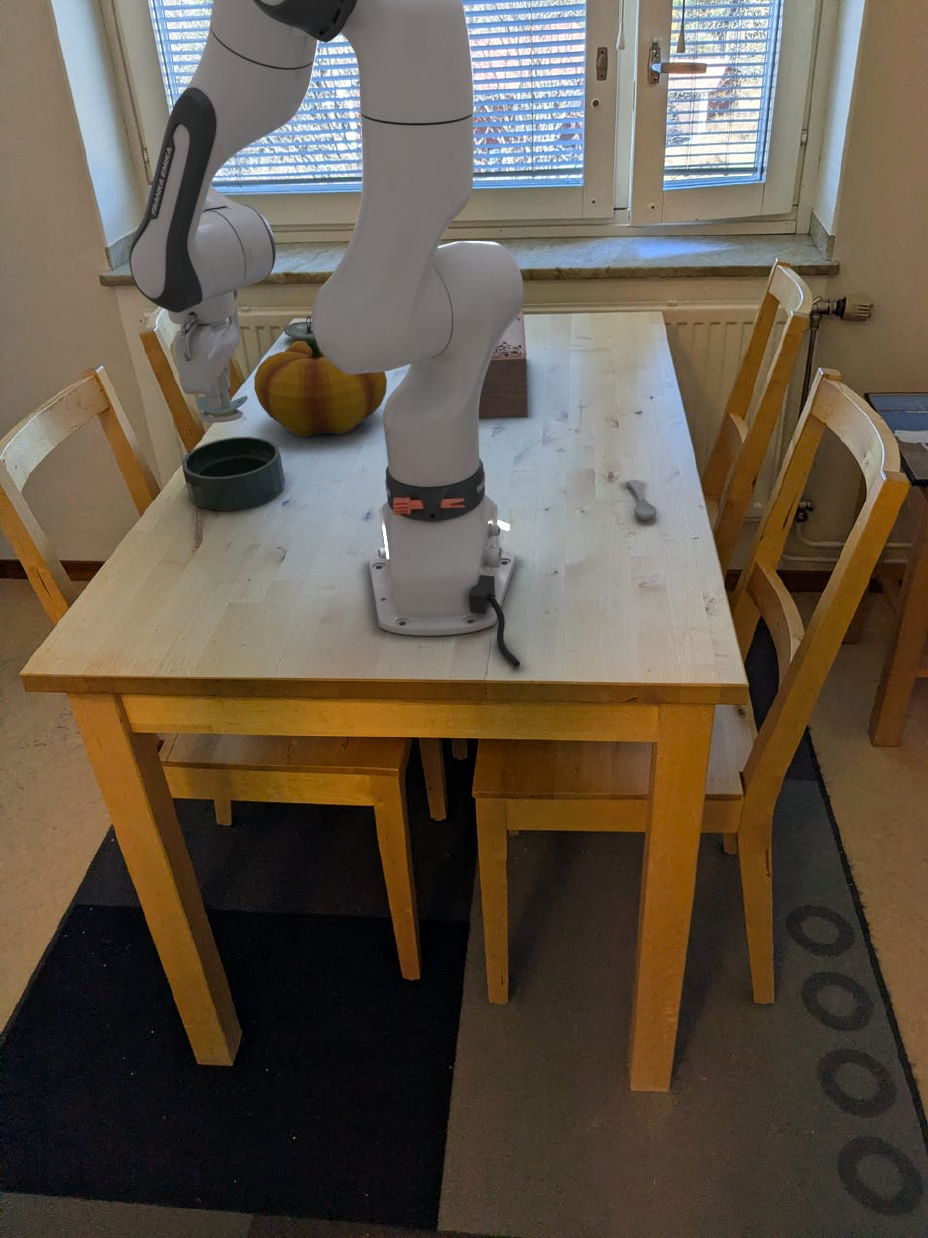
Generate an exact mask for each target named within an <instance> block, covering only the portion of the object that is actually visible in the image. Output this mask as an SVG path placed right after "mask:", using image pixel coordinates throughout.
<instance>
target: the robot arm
mask: <svg viewBox="0 0 928 1238" xmlns="http://www.w3.org/2000/svg"><path fill="white" fill-rule="evenodd" d="M465 10H466V9H465V6H464V3H463V1H462V0H212V6H211V12H210V21H209V27H208V33H207V38H206V43H205V45H204V48H203V52H202V54H201V58H200V60H199V63H198V65H197V66H196V70H195V71H194V73H193V75H192V77H191V79H190V80H189V83H188V84H187V86H186V87H185V89H184V91H182V92H181V94H180V96H179V97H178V98H177V100H176V101H175V103H174V105H173V107H172V109H171V112H170V115H169V118H168V121H167V124H166V128H165V131H164V135H163V139H162V143H161V147H160V151H159V155H158V159H157V163H156V166H155V167H156V168H155V172H154V176H153V179H152V181H150V183H149V184H148V185H147V186H146V191H145V203H146V204H145V205H146V206H145V207H146V208H145V212H144V215H143V217H142V220H141V222H140V224H139V226H138V227H137V229H136V231H135V234H134V236H133V238H132V242H131V245H130V250H129V259H128V260H129V261H128V263H129V264H128V265H129V269H130V273H131V277H132V280H133V282H134V285H135V287H136V288H137V290H138V291H139V292H140V293H141V295H142V296H144V298H146V299H147V300H148V301H150V302H151V303H153V304H154V305H156V306H158V307H160V308H162V309H164V310H166V311H167V313H168V318H169V320H170V322H172V323H174V324H177V325H180V327H179V328H180V330H179V332H178V333H177V334H176V336H175V338H174V354H175V355H174V356H175V361H176V368H177V373H178V378H179V383H180V388H181V389H182V391H183V392H184V393H185V394H186V395H204V397H206V399H207V404H208V407H209V408H210V409H219V408H220V407H221V405H222V403H223V400H222V395H221V393H219V391H218V388H217V385H218V382H217V379H218V378H219V376H220V375H221V373H222V372H223V373H224V374H226V376H227V377H228V379H229V389H228V394H229V393H230V392H231V391H232V387H231V382H230V381H231V380H230V371H231V370H230V367H231V365H230V360H231V359H232V357H233V356H234V354H235V353H236V351H237V349H238V348H239V346H240V344H241V327H240V326H241V325H240V318H239V310H238V309H239V308H238V304H237V301H236V300H237V299H238V298H239V290H240V289H243V288H247V287H249V286H252V285H254V284H257V283H259V282H261V281H263V280H264V279H267V278H268V277H269V276H270V275H271V274H272V272H273V269H274V266H275V264H276V263H275V262H276V258H277V248H276V240H275V236H274V233H273V230H272V228H271V226H270V224H269V222H268V221H267V219H266V218H265V217H264V216H263V214H261V212H259V211H258V210H257V209H255V208H253V207H252V206H251V205H248V204H240V203H238V202H236V201H234V200H232V199H231V198H228V197H227V196H225V195H224V194H222V193H220V191H218V190H217V189H215V187H214V186H213V185H212V181H213V180H214V178H215V176H216V174H218V172H219V171H220V170H221V168H222V167H223V166H224V165H225V164H226V163H227V162H228V161H230V160H231V158H233V157H234V156H236V155H237V154H239V153H240V152H241V151H243V150H244V149H246V148H248V147H249V146H251V145H252V144H254V143H256V142H257V141H259V140H261V139H263V138H265V137H267V136H268V135H270V134H272V133H274V132H276V131H277V130H280V129H281V128H282V127H284V126H285V125H287V124H288V123H290V121H292V120H293V118H295V116H296V115H297V113H298V112H299V111H300V109H301V107H302V105H303V103H304V101H305V99H306V96H307V94H308V92H309V89H310V85H311V83H312V79H313V73H314V69H315V63H316V59H317V53H318V47H319V42H321V43H329V42H331V41H332V40H334V39H335V38H337V36H338V35H339V34H341V35H342V36H343V37H344V38H345V39H346V40H347V42H348V43H349V45H350V47H351V48H352V50H353V52H354V55H355V59H356V64H357V71H358V82H359V83H358V84H359V87H358V88H359V89H358V90H359V112H360V113H359V114H360V137H361V197H360V204H359V209H358V214H357V218H356V222H355V225H354V229H353V231H352V234H351V237H350V240H349V242H348V245H347V247H346V249H345V251H344V254H343V256H342V258H341V260H340V262H339V263H338V265H337V266H336V268H335V269H334V271H333V272H332V274H331V275H330V276H329V278H328V279H327V280H326V281H325V282H324V283H323V284H322V285H321V286H320V288H319V289H318V290H317V293H316V295H315V297H314V300H313V304H312V308H311V309H312V310H311V322H312V328H313V333H314V336H315V339H316V341H315V343H316V344H318V346H319V348H320V350H321V352H322V353H323V355H324V356H325V357H326V358H327V360H328V361H329V362H330V363H331V364H332V365H334V366H335V367H336V368H337V369H339V370H340V371H342V372H344V373H347V374H363V373H375V372H385V373H386V372H391V371H393V370H396V369H399V368H402V367H405V366H408V365H409V367H408V369H407V371H406V374H405V376H404V377H403V379H402V380H401V382H400V383H399V385H398V386H397V387H396V388H395V389H393V391H392V393H391V394H390V395H389V396H388V398H387V400H386V402H385V405H384V409H383V414H382V423H383V431H384V440H385V441H384V442H385V448H386V449H385V450H386V457H387V466H386V468H385V481H384V482H385V483H384V484H385V492H386V497H387V501H386V502H385V503H384V504H383V505H382V506H381V507H380V508H379V509H378V510H379V517H380V527H381V535H382V542H383V546H381V547H379V548H378V550H377V551H378V555H376V556H374V557H372V558H371V559H370V560H369V562H368V569H369V577H370V583H371V588H372V593H373V601H374V606H375V612H376V618H377V624H378V627H379V628H380V629H381V630H383V631H386V632H390V633H394V634H399V635H406V636H421V637H423V636H424V637H425V636H452V635H461V634H467V633H473V632H478V631H481V630H484V629H486V628H490V627H492V626H494V625H495V624H496V622H497V631H496V643H497V646H498V649H499V651H500V652H501V653H502V655H503V656H504V657H505V658H506V659H507V660H508V661H509V662H510V663H511V664H512V665H513V666H514V667H515V668H518V667H519V666H520V665H521V662H520V661H519V660H518V659H517V657H516V656H515V655H514V654H513V653H512V652H511V651H510V650H509V649H508V647H507V646H506V644H505V640H504V634H505V633H504V632H505V627H506V626H505V625H506V623H505V622H506V621H505V619H506V618H505V614H504V612H503V609H502V606H503V603H504V600H505V597H506V594H507V591H508V588H509V586H510V582H511V580H512V576H513V573H514V571H515V568H516V565H517V562H516V556H515V554H513V553H512V552H509V551H507V550H504V549H502V547H501V539H500V538H501V537H500V535H501V529H502V530H505V531H507V532H508V531H510V524H509V523H507V522H504V521H502V520H499V509H498V504H497V503H495V501H493V500H492V499H491V498H489V496H487V494H486V473H485V469H484V463H483V461H482V459H481V458H480V431H479V430H480V429H479V428H480V427H479V425H480V422H479V421H480V420H479V402H480V395H481V391H482V386H483V382H484V379H485V375H486V372H487V369H488V366H489V364H490V361H491V358H492V356H493V353H494V351H495V349H496V347H497V345H498V343H499V341H500V339H501V337H502V336H503V334H504V333H505V331H506V330H507V328H508V327H509V326H510V325H511V324H512V322H513V321H514V320H515V319H516V317H517V316H518V314H519V312H520V310H521V309H522V306H523V301H524V280H523V276H522V273H521V270H520V267H519V265H518V263H517V261H516V259H515V258H514V256H513V255H512V254H511V253H510V252H509V250H508V249H507V248H505V246H503V245H501V244H500V243H498V242H495V241H484V240H483V241H479V240H471V241H470V240H464V241H463V240H462V241H454V242H450V243H445V244H442V245H440V243H441V240H442V238H443V236H444V235H445V234H446V231H447V230H448V228H449V227H450V226H451V224H452V223H453V222H454V221H455V219H456V218H457V217H458V216H460V214H461V213H462V212H463V211H464V210H465V208H466V207H467V205H468V204H469V201H470V199H471V196H472V192H473V188H474V139H475V138H474V134H475V133H474V132H475V131H474V129H475V125H474V124H475V123H474V121H475V95H474V94H475V92H474V91H475V90H474V89H475V87H474V71H473V70H474V69H473V59H472V50H471V43H470V42H471V41H470V35H469V33H470V32H469V27H468V21H467V15H466V11H465Z"/></svg>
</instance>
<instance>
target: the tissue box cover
mask: <svg viewBox="0 0 928 1238" xmlns="http://www.w3.org/2000/svg"><path fill="white" fill-rule="evenodd" d="M527 360H528V359H527V345H526V332H525V316H524V309H523V308H521V310H520V312H519V314H518V316H517V317H516V319H515V320H514V321H513V322H512V324H511V325H510V326H509V327H508V328H507V330H506V331H505V333H504V334H503V336H502V337H501V339H500V341H499V343H498V345H497V347H496V349H495V351H494V353H493V356H492V358H491V361H490V364H489V366H488V369H487V372H486V375H485V379H484V382H483V386H482V391H481V395H480V402H479V419H480V420H481V419H503V418H523V417H524V418H526V417H527V418H528V417H529V415H528V414H529V412H528V367H527V365H528V364H527V363H528V361H527Z"/></svg>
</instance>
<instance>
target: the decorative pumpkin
mask: <svg viewBox="0 0 928 1238" xmlns="http://www.w3.org/2000/svg"><path fill="white" fill-rule="evenodd" d="M253 380H254V382H253V383H254V385H253V386H254V392H255V395H256V398H257V400H258V402H259V405H260V406H261V408H262V410H263V411H265V413H266V414H267V415H268V416H269V418H271V419H273V420H275V421H276V422H277V423H279V425H281V426H282V427H283V428H284V429H286V430H288V431H290V432H291V433H293V434H295V435H296V436H298V437H309V436H311V437H312V436H317V435H320V434H333V435H335V434H337V435H338V434H340V435H341V434H347V433H348V432H350V431H351V430H353V429H354V428H356V427H357V426H358V424H360V422H361V421H364V420H366V419H368V418H369V417H370V416H372V415H373V414H374V413H375V412H376V411H377V410H378V409H379V408H380V406H381V405H382V404H383V401H384V399H385V396H386V394H387V386H388V378H387V376H386V371H385V372H375V373H363V374H347V373H344V372H342V371H340V370H339V369H337V368H336V367H335V366H334V365H332V364H331V363H330V362H329V361H328V360H327V358H326V357H325V356H324V355H323V353H322V352H321V350H320V348H319V346H318V344H317V342H316V341H313V340H312V339H311V338H310V339H307V340H295V341H294V342H293V343H292V344H291V345H289V346H288V347H287V348H286V349H285V350H284V351H280V352H277V353H274V354H271V355H269V356H267V358H265V359H264V360H263V361H262V362H261V363H260V364H259V365H258V367H257V370H256V372H255V374H254V379H253Z"/></svg>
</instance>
